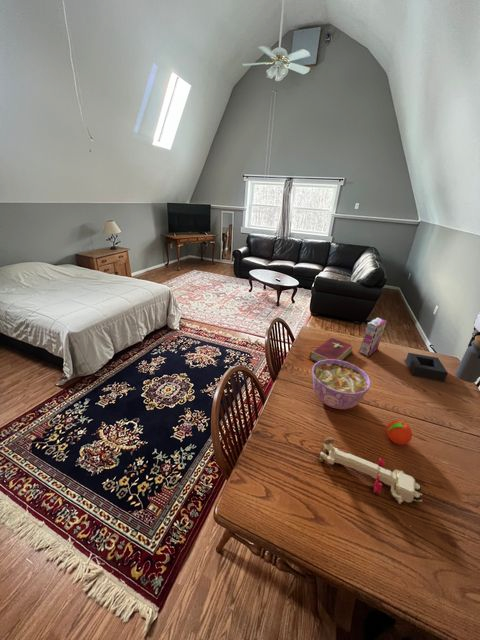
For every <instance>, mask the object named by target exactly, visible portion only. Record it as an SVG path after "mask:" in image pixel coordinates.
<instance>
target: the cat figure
mask: <svg viewBox="0 0 480 640" xmlns="http://www.w3.org/2000/svg"><path fill="white" fill-rule="evenodd" d="M334 443H335V439H334V437H332V436H329V437H326V438H324V440H323V448H322V451H320V453H319V458H318V461H319V462H321V463H323V462H324V461H326V462H327V463H328V464H330V465H331V466H333V465H335V463H336V464H340V465H342V466H345V467H347V468H352V469H354V470H356V471H358V472H361V473H363V474H366V475H368V476H370V477H372V478H373V479H375V482H374V487H373V493H375V494H379V495H381V493H382V488H383V483H384V485H387V486H389V487H390V493H391V496H392V497H393V498H395V501H397V503H398V504H399V505H401V504H402V503H404V502H406V503H408V504H409V503H413V501H414V502H418V503H419V502H420V503H422V502H423V499H422V496H423V493H421V491H422V486H420V484H419V483H417V482H416V479H415V478H414V477H413V476H411V475H408V474H406V473H405V472H404V471H403V470H399V469H393V471H391V470H390V469H387V468H384V467H385V466H386V462H385V460H383V459H382V458H381V457H379V458H378V462H377V463H374V462H372V461H369V460H367V459H364V458H362V457H360V456H357V455H354V454H352V453H347V452H345V451H342V450H340V449H339V448H337V447H335V446H333V444H334ZM327 451H328V455H327ZM379 481H380V482H379Z"/></svg>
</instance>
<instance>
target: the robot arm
mask: <svg viewBox="0 0 480 640" xmlns="http://www.w3.org/2000/svg"><path fill="white" fill-rule="evenodd" d="M478 335H480V311H479V312H478V314H477V316H476V319H475V320H474V321H473V332H472V333H471V338H470V340H469V342H468V345H467V348H468V347H469V346H472V345H471V343H472V341H473V340H475V336H478ZM478 358H479V359H480V352H479V354H478Z"/></svg>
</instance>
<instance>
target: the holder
mask: <svg viewBox="0 0 480 640" xmlns="http://www.w3.org/2000/svg"><path fill="white" fill-rule="evenodd" d="M405 363H406V365H407V367H408V369H409V371H410V374H411V376H415V377H419V378H424V379H430V380H435V381H439V382H440V381H441V382H445V380H446V378H447V376H448V373H449V372H448V371H447V369H446V367H445V366H444V364H443V363H442V361H441V360H440V359H439V357H436V356H430V355H425V354H418V353H413V352H408V353H407V355H406V357H405Z"/></svg>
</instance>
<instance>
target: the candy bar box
mask: <svg viewBox="0 0 480 640" xmlns="http://www.w3.org/2000/svg"><path fill="white" fill-rule="evenodd" d="M386 324H387V320H386V319H383V318H381V317H376V318H374V319H372V320H370V321H369V322H367V324H366V327H365V332H364V334H363V338H362V341H361V344H360V347H359V351H358V353H359V354H362V355H364V356H366V357H369V356H371V355H372V354H373V353H374V352H376V351H377V350H378V349H379V347H380V346H379V345H380V343H381V341H382V336H383V333H384V331H385V327H386Z"/></svg>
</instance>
